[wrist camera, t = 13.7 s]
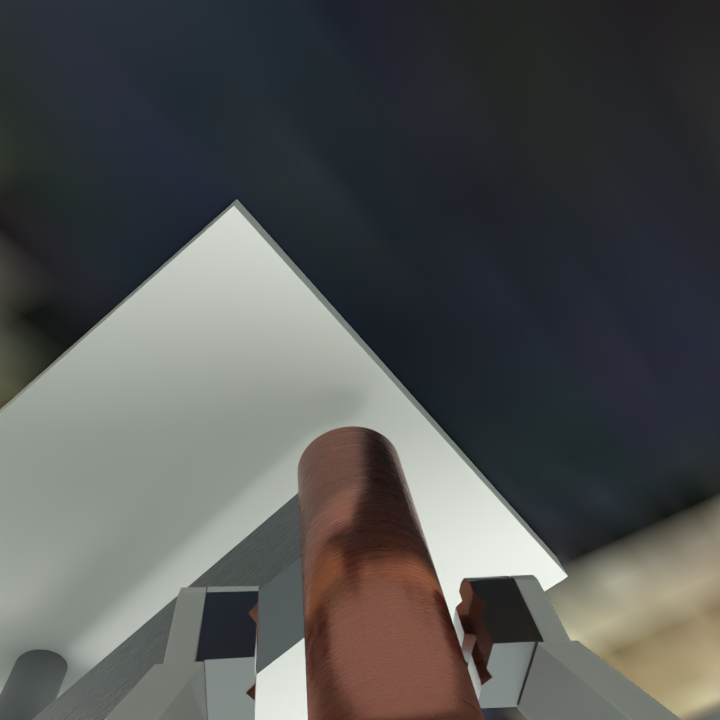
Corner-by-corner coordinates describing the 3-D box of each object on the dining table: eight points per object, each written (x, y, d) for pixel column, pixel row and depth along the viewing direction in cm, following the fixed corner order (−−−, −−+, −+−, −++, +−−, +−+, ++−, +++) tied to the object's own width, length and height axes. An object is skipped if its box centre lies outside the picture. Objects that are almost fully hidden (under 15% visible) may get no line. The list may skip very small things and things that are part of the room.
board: (81, 863, 32) (30, 1061, 25) (-335, 706, 23) (-574, 943, 17) (556, 556, 26) (647, 708, 19) (236, 198, 17) (210, 257, 11)
